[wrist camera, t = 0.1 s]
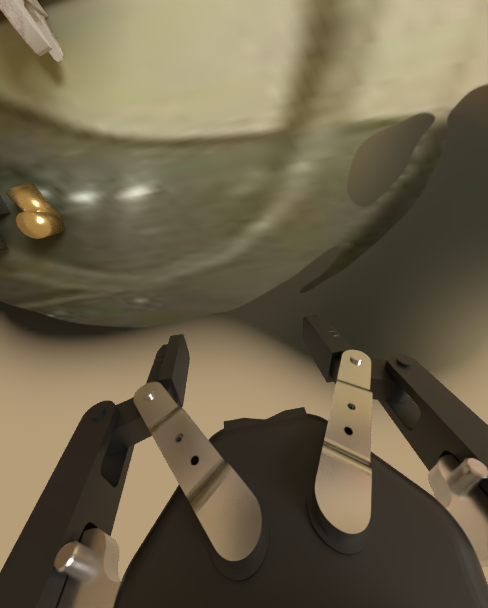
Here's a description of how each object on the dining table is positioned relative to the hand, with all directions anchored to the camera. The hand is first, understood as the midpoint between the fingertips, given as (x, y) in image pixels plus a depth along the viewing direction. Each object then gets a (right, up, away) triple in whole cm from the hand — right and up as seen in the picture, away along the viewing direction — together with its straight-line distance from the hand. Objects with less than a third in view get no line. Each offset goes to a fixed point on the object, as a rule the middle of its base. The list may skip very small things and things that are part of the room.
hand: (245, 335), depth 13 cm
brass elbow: (-32, +18, +19) cm, 42 cm away
